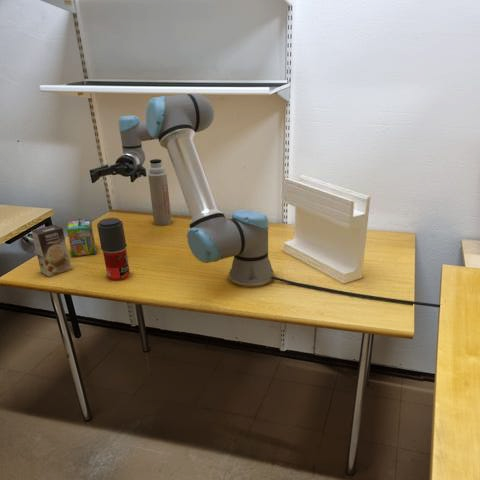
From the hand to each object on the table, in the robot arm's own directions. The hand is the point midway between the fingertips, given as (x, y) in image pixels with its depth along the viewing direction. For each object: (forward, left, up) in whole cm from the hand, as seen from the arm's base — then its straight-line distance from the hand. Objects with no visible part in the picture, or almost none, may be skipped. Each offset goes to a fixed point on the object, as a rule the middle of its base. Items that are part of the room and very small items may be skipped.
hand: (111, 178), depth 163 cm
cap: (-7, +7, -21) cm, 23 cm away
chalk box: (+24, +5, -32) cm, 41 cm away
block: (-51, -51, -32) cm, 79 cm away
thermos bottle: (+30, -37, -32) cm, 58 cm away
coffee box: (+14, +21, -32) cm, 41 cm away
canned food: (-7, +7, -32) cm, 34 cm away
